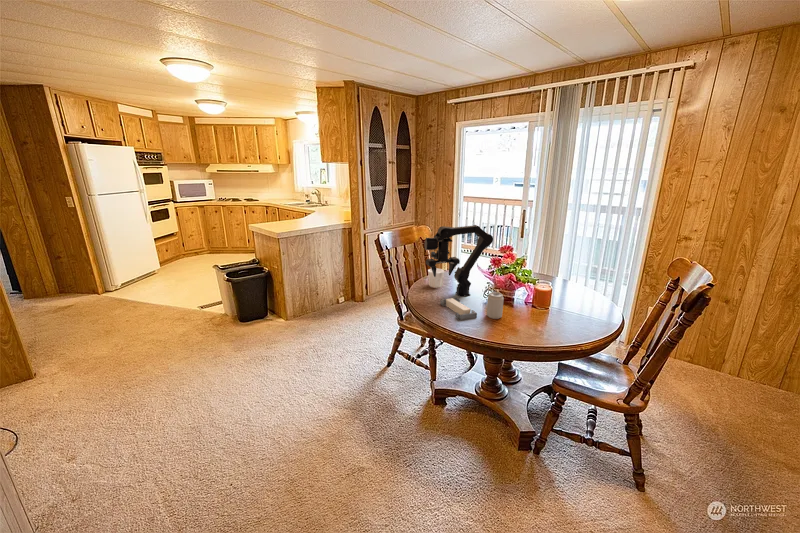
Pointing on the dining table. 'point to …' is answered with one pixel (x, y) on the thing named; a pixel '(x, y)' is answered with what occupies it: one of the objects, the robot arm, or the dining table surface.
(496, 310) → the can
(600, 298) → the dining table surface
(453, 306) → the beige wooden bar
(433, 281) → the cup
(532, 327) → the dining table surface
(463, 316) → the end caps
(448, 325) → the dining table surface
